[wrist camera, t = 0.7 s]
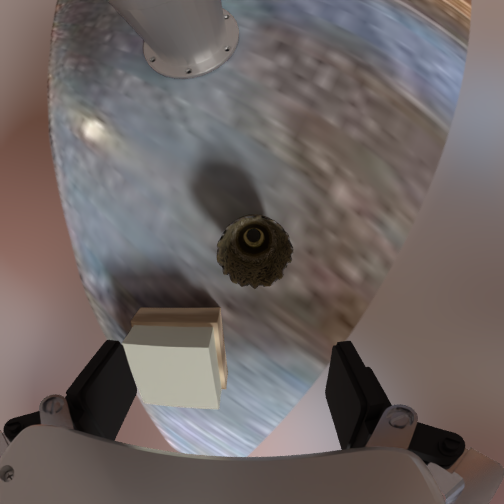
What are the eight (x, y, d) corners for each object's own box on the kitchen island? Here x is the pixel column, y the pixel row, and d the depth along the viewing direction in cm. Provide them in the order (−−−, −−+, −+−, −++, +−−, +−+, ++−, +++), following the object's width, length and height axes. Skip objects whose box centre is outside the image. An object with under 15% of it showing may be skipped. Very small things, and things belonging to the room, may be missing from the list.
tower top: (134, 324, 33) (121, 343, 29) (213, 326, 33) (208, 347, 29) (152, 383, 36) (144, 403, 32) (221, 387, 36) (219, 409, 32)
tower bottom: (141, 306, 37) (130, 321, 33) (220, 305, 37) (217, 322, 33) (157, 367, 41) (150, 385, 37) (227, 370, 41) (226, 389, 37)
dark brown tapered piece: (262, 273, 36) (266, 301, 28) (213, 245, 34) (203, 266, 27) (294, 225, 34) (307, 241, 26) (243, 194, 33) (242, 201, 25)
